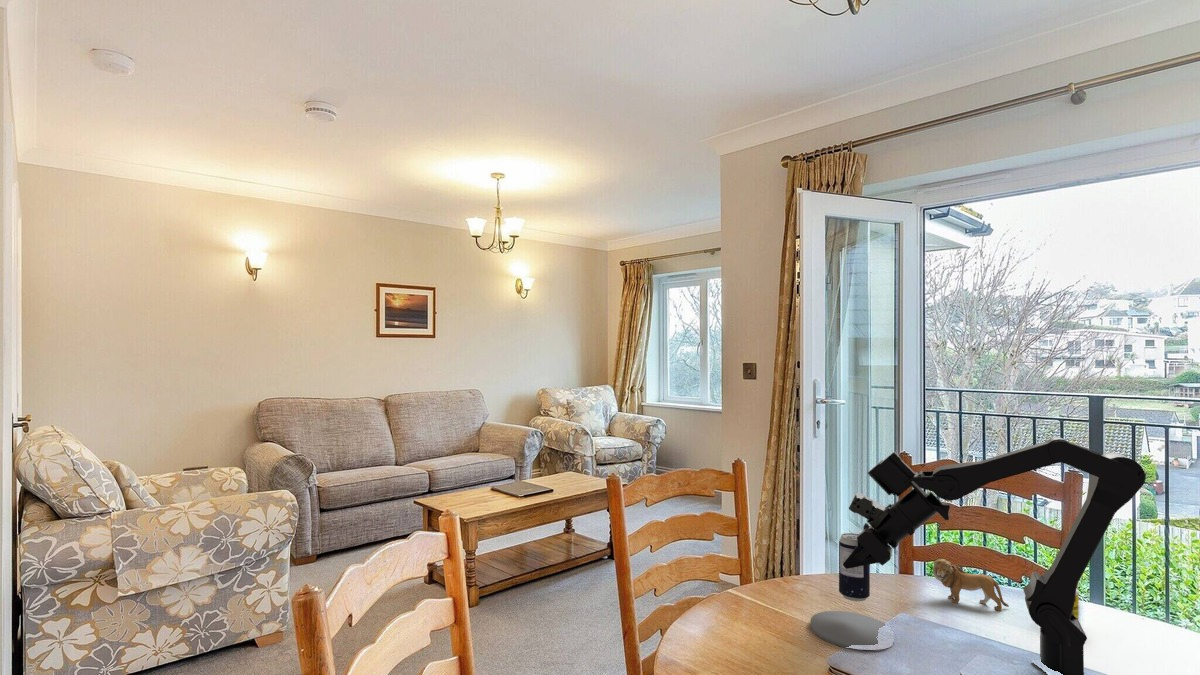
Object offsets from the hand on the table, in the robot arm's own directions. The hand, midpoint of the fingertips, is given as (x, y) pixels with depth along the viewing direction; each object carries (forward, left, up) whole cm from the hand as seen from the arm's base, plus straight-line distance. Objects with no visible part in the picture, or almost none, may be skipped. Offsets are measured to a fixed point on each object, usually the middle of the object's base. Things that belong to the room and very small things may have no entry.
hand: (846, 562), depth 122 cm
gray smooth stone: (-4, 0, -12) cm, 13 cm away
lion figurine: (+16, -31, -13) cm, 37 cm away
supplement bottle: (+9, -46, -12) cm, 48 cm away
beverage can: (-1, -1, -7) cm, 7 cm away
